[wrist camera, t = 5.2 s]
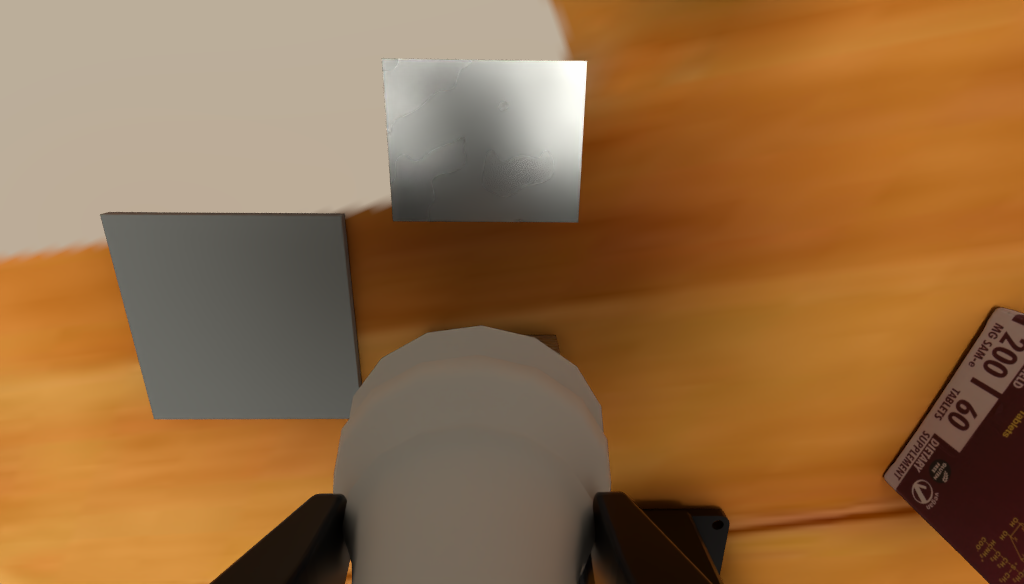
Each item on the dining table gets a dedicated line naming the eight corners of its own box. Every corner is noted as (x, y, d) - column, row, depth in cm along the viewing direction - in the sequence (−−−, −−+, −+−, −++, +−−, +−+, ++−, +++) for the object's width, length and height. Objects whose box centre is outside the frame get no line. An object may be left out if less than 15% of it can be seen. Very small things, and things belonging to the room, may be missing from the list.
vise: (550, 457, 21) (561, 532, 18) (429, 458, 21) (414, 534, 17) (566, 71, 16) (586, 60, 13) (409, 69, 16) (381, 58, 12)
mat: (364, 412, 20) (362, 418, 20) (160, 413, 20) (154, 419, 20) (344, 213, 18) (341, 215, 17) (108, 212, 18) (100, 214, 17)
